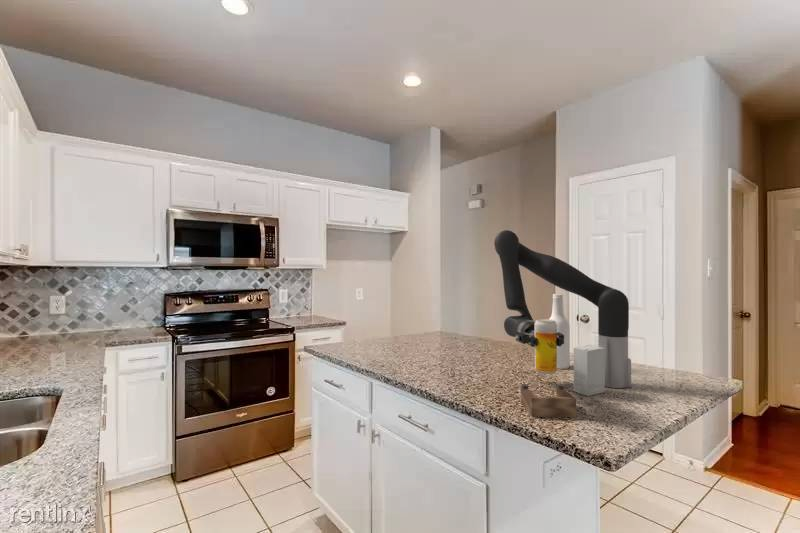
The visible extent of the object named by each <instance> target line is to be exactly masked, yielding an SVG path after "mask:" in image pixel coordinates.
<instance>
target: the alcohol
mask: <svg viewBox="0 0 800 533" xmlns="http://www.w3.org/2000/svg"><path fill="white" fill-rule="evenodd" d="M564 310H565V309H564V294H562V293H553V294H552V310H551V316H550V317H549V318H548V319H551V320H555V322H556V324H557V333H558V332H560V333H562V334H563V335H564V344H563V345H561V346H557V370H566V369H569V368H570V363H571V362H570V361H571V356H570V354H571V350H570V348H571V347H570V346H571V345H570V344H571V343H570V342H571V340H570V336H571V334H570V331H571V330H570V328H571V327H570V326H571V325H570V322H569V320H568V319H567V318H566V317H565V311H564Z"/></svg>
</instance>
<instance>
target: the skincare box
mask: <svg viewBox="0 0 800 533" xmlns="http://www.w3.org/2000/svg"><path fill="white" fill-rule="evenodd" d="M605 387H606V386H605V348H602V347H598V345H593V344H587V345H582V346H581V345H580V346H576V347H573V391H574V392H575V393H578V394H581V395H584V396H586V397H590V396H593V395H594V396H595V395H598V394H604V393H605V390H606V389H605Z"/></svg>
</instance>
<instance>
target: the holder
mask: <svg viewBox="0 0 800 533" xmlns="http://www.w3.org/2000/svg"><path fill="white" fill-rule="evenodd" d="M555 395H556V396H536V395H535V394H534V393H533V392H532V391H531V390H530V389H529V386H528V384H527V383H521V385H520V403H522V404H521V405H522V406H523V407H524V409H525V408H526V409H525V410H526V411H527V413H528V414H529V415H530V417H540V418H543V417H544V418H545V417H547V418H548V417H549V418H577V397H575V396H574V395H572V394H571V393H570V392H568V390H566V389H565V385H563V384H561V383H560V384H557V383H556V387H555Z"/></svg>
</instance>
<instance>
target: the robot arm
mask: <svg viewBox="0 0 800 533" xmlns="http://www.w3.org/2000/svg"><path fill="white" fill-rule="evenodd" d="M493 244H494V249H495V252H496V253H497V255H498V256H499V260H500V264H501V270H502V282H503V292H504V297H505V298H504V299H505V305H506V309H507V310H510V311H516V312H518V313H519V314H520V315H512V316H508V317H506V318H505V320H504V322H503V327H504V331H505V333H506V334H507V335H508V336H509V337H512V338H515V341H516V342H518V343H520V344H523V345H526V344H527V345H528V346H531V347H533V348H534V346H538V339H537V338H536V337H534V324H535V322H536V320H534V318H533V317H532V314H531V312H530V310H529V307H528V306H527V302H526V296H525V290H524V284H523V280H522V276H521V271H520V266H521V267H523V268H525V269H526V270H528V271H530V272H531V273H532V274H534V275H536V276H538V277H539V278H541V279H543V280H544V281H546V282H548V283H550V284H551V285H554V286H555V287H557V288H559V289H562V290H564V291H566V292H569V293H571V294H574V295H577V296H579V297H581V298H583V299H585V300H587V301H589V302H590V303H592V304H593V305H595V306H596V307H597V309H598V310H597V311H598V312H597V315H598V318H597V320H598V322H597V323H598V325H597V326H598V328H597V329H598V330H597V332H598V333H597V334H598V336H597V337H598V345H597V347H602V348H605V387H607V388H612V389H613V388H614V389H626V388H632V359H631V358H629V330H630V329H629V326H630V325H629V322H630V313H629V312H630V310H629V309H630V306H629V304H630V303H629V299H628V297H627V295H626V294H625V293H623V291H622V290H618V289H616V288H613V287H610V286H609V285H605V284H603V283H601V282H598V281H596V280H594V279H592V278H591V277H589V276H588V275H586V274H585V273H583V272H582V271H580V270H579V269H577V267H575V266H573V265H571V264H569V263H568V262H565V261H564V260H562V259H560V258H558V257H555V256H552V255H549V254H545V253H541V252H537V251H535V250H532V249H530V248H528V247H527V246H525V245H524V244H522V243H521V242H520V239H519V237H518V236H517V233H515V232H514V231H512V230H508V229H507V230H502V231H499V232H498V233H497V234H496V236H495V239H494V242H493ZM563 344H564V335H563V334H562V333H560V332H558V333H557V346H561V345H563Z"/></svg>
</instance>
